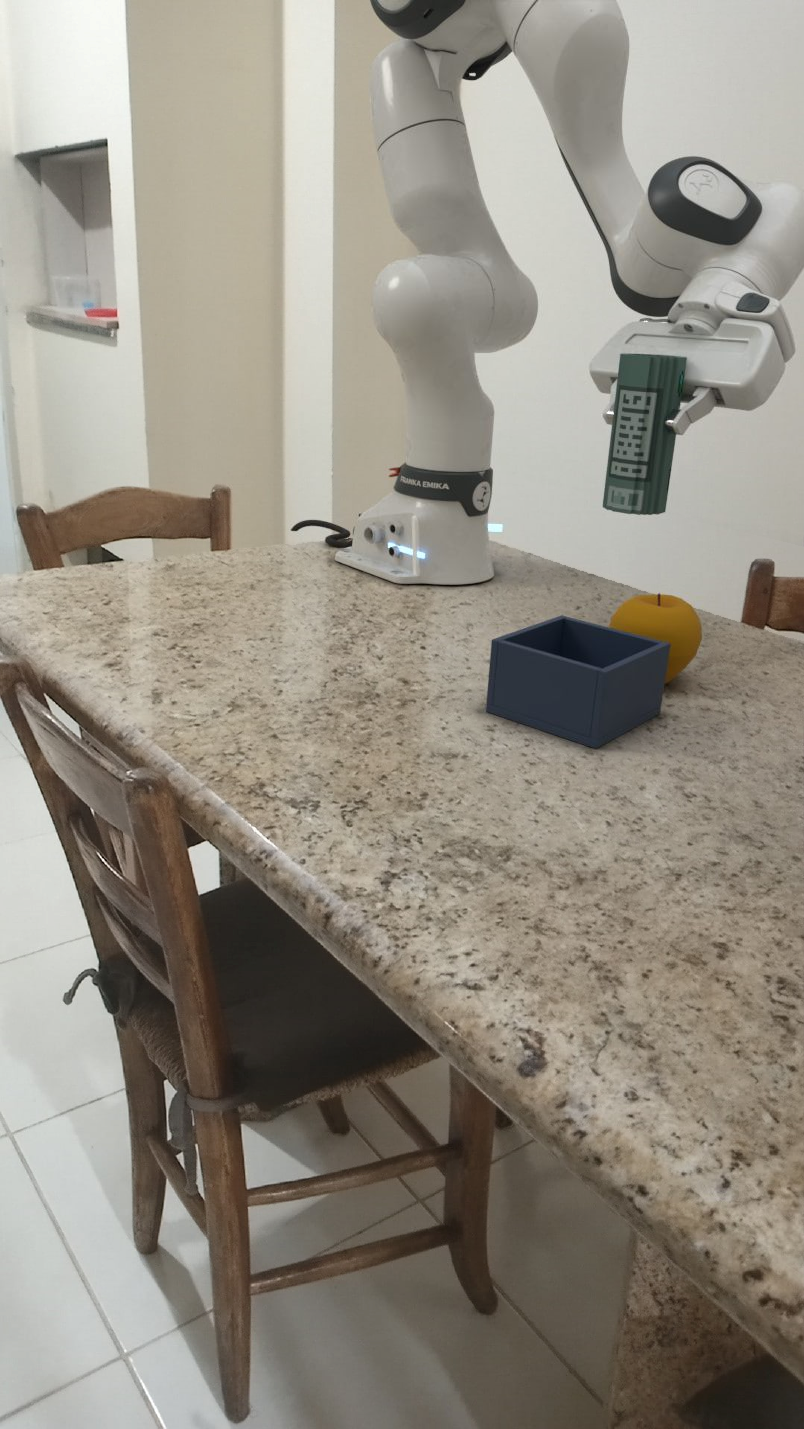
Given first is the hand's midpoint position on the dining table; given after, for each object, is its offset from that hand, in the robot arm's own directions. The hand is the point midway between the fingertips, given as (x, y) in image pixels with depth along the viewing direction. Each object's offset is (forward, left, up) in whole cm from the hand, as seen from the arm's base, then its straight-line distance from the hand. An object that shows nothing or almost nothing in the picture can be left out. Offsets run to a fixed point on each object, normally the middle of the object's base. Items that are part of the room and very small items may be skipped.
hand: (640, 425), depth 102 cm
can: (0, +1, -9) cm, 9 cm away
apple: (+8, -6, -24) cm, 26 cm away
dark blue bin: (+7, -20, -23) cm, 31 cm away
